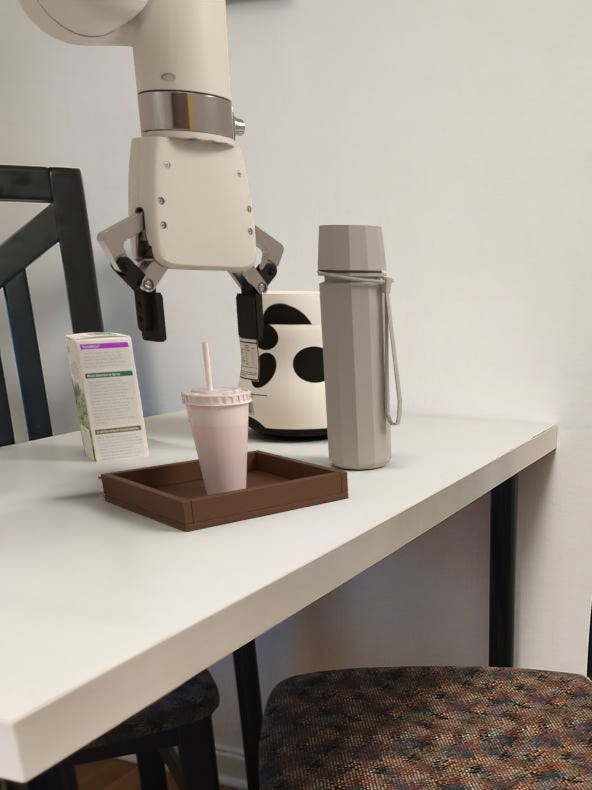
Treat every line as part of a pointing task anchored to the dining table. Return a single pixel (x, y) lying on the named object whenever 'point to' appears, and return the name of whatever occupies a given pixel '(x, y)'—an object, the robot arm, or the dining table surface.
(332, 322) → the water bottle
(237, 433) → the smoothie
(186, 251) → the robot arm
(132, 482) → the tray
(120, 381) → the syrup box
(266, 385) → the milk container
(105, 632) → the dining table surface
